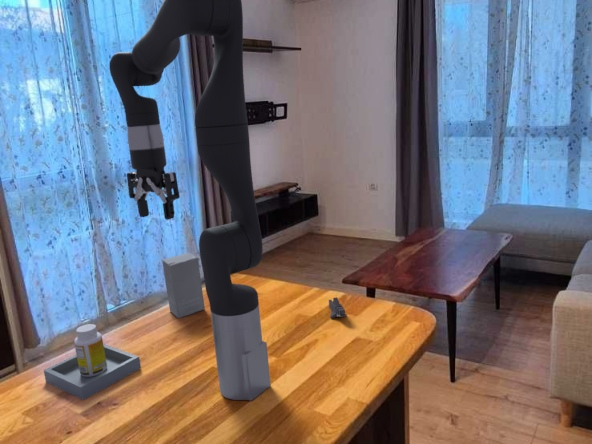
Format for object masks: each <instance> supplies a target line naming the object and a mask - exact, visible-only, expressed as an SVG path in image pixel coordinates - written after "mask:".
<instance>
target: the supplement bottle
mask: <svg viewBox="0 0 592 444" xmlns="http://www.w3.org/2000/svg"><path fill="white" fill-rule="evenodd" d="M75 333H76V337H75V338H74V341H73V344H74V350H75V355H77V360H78V365H79V370H80V374H81V375H82V376H84V377H93V376H97V375H99V374H101V373H103V372H104V371H105V370H106V369H107V362H106V356H105V351H104V345H103V344H104V341H103V335H102V333H100V332H99V331H98V329H97V325H96V324H93V323H89V324H88V323H87V324H83V325H81V326H78V327H77V328H76V330H75Z"/></svg>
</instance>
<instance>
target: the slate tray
mask: <svg viewBox="0 0 592 444" xmlns="http://www.w3.org/2000/svg"><path fill="white" fill-rule="evenodd" d="M103 345H104V351H105V356H106V362H107V369H106V370H105V371H104V372H103V373H101V374H99V375H97V376H93V377H84V376H82V375H81V374H80V370H79V365H78V360H77V355H76V354H75V355H73V356H70V357H69V358H66V359H64V360H62V361H60V362H58V363H55V364H53V365H51V366H50V367H47V368H45V369H43V375H44V379H45V382H46V384H47V383H48V384H49V385H52V386H53V387H55V388H58V389H59V390H61V391H63V392H65V393H68V394H70V395H72V396H73V397H75V398H78V399H80V400H82V401H85V400H86V399H88V398H90V397H92V396H93V395H95V394H97V393H99V392H101V391H103V390H104V389H106V388H108V387H110V386H112V385H114V384H115V383H117V382H119V381H120V380H122V379H125V378H126V377H127V376H130V375H131V374H133V373H135V372H137V371H138V370H141V369H142V367H141V359H140V356H139V355H136V354H133V353H130V352H128V351H125V350H122V349H119V348H116V347H114V346H111V345H109V344H106V343H103Z"/></svg>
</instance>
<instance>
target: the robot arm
mask: <svg viewBox="0 0 592 444" xmlns="http://www.w3.org/2000/svg"><path fill="white" fill-rule="evenodd" d="M243 15H244V14H243V4H242V0H163V2H162V3H161V6H160V7H159V9H158V12H157V13H156V16H155V17H154V21H153V22H152V24H151V26H150V27H149V29H148V30H147V31H146V32H145V34H143V36H142V37H140V38H139V39H138V41H136V43H135V44H134V45H133V48H132V50H131V51H126V52H125V51H121V52H120V51H119V52H115V53H114V54H113V55H112V56H111V58H110V60H109V73H110V76H111V79H112V81H113V83H114V86H115V88H116V89H117V92H118V94H119V97H120V99H121V102H122V106H123V109H124V114H125V120H126V126H127V127H126V128H127V130H126V131H127V143H128V149H129V150H128V151H129V155H130V161H131V168H132V169H133V170H136V171H131V172H127V174H126V178H127V188H128V196H129V198H130V199H134V201H135V202H136V205H137V211H138V214H139V217H140V218H145V217H149V215H150V211H149V203H148V200H147V198H148V194H149V193H155V195H156V196H158V197H159V199H160V200H161V201H162V208H163V209H162V210H163V215H164V219H165V220H171V219H174V218H175V207H174V205H175V204H174V201H175V200H178V199H180V190H179V184H178V180H177V173H176V171H175V172H174V171H171V172H168V173H167V172H166V171H165V167H166V166H167V157H166V149H165V144H164V134H163V131H162V126H161V121H160V112H159V106H158V105H159V104H158V103H157V102H158V101H157V100H156V99H155V98H153V97H148V96H142V95H140V94H139V93H138V92H137V89H135V87H149V86H154V85H157V84H158V83H160V81H161V79H162V75H163V72H164V70H165V69H166V68H167V67H168V66H169V65H171V63H173V62H174V61H175V59H176V58H177V57H178V54H179V53H180V50H181V49H180V48H181V39H180V38H181V37H183V36H187V35H190V36H191V35H192V36H198V37H199V36H203V37H204V36H206V37H209V36H210V37H213V48H214V49H213V66H212V70H211V73H210V76H209V79H208V82H207V84H206V85H205V87H204V91H203V92H202V94H201V97H200V99H199V102H198V104H197V107H196V110H195V114H194V127H195V134H196V135H195V136H196V145H197V153H198V155H199V157H200V160H201V162H202V164H204V167H205V168H206V169H207V171H208V172H209V173H210V174H211V176H212V177H213V178H214V180H215V181H216V182H217V183H218V185H219V186H220V187H221V189H223V191H224V193H225V195H226V198H227V201H228V203H229V206H230V210H231V217H232V218H231V219H232V222H230V223H225V224H220V225H216V226H212V227H207V228H206V229H204V230H203V231H202V232H201V234H200V235H199V241H198V248H199V256H200V257H199V258H200V261H201V268H202V274H203V280H204V287H205V291H206V296H207V299H208V304H209V309H210V317H211V326H212V335H213V343H214V344H213V345H214V351H215V358H216V367H217V369H216V370H217V375H218V376H217V377H218V382H219V392H220V394H221V395H222V396H223V397H225V398H227V399H228V400H232V401H243V400H248V401H253V400H254V399H255V398H257V397H258V396H260V395H261V394H262V393H263V392H264V391H266V390H267V389H268V388H270V387H271V385H272V384H271V375H270V366H269V365H270V363H269V354H268V353H269V352H268V344H267V342H266V341H263V335H262V324H261V314H260V304H259V303H260V302H259V301H260V300H259V294H258V291H257V289H256V288H254V287H253V286H250V285H246V284H239V283H233V281H232V276H231V275H233V274H236V273H240V272H242V271H247V270H251V269H254V268H255V267H257V266H259V264H260V263H261V261H262V259H263V238H262V231H261V225H260V221H259V214H258V210H257V203H256V197H255V196H256V195H255V190H254V182H253V172H252V164H251V163H252V162H251V149H250V148H251V147H250V146H251V145H250V132H249V124H248V123H249V121H248V113H247V105H246V94H245V79H244V59H243V58H244V54H243V53H244V51H243V50H244V43H243V42H244V37H243V36H244V17H243ZM134 189H135V191H134Z"/></svg>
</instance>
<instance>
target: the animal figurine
mask: <svg viewBox="0 0 592 444" xmlns="http://www.w3.org/2000/svg"><path fill="white" fill-rule="evenodd" d="M328 307H329V309H330V311H331V314H330V317H329V318H330V319H335V318H336V317H340V318H342V317H347V313H346V309H345V308H344V306H343V305H342V304H341V303H340V301H339V299H338V297H337V296H336V297H333V299H328Z"/></svg>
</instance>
